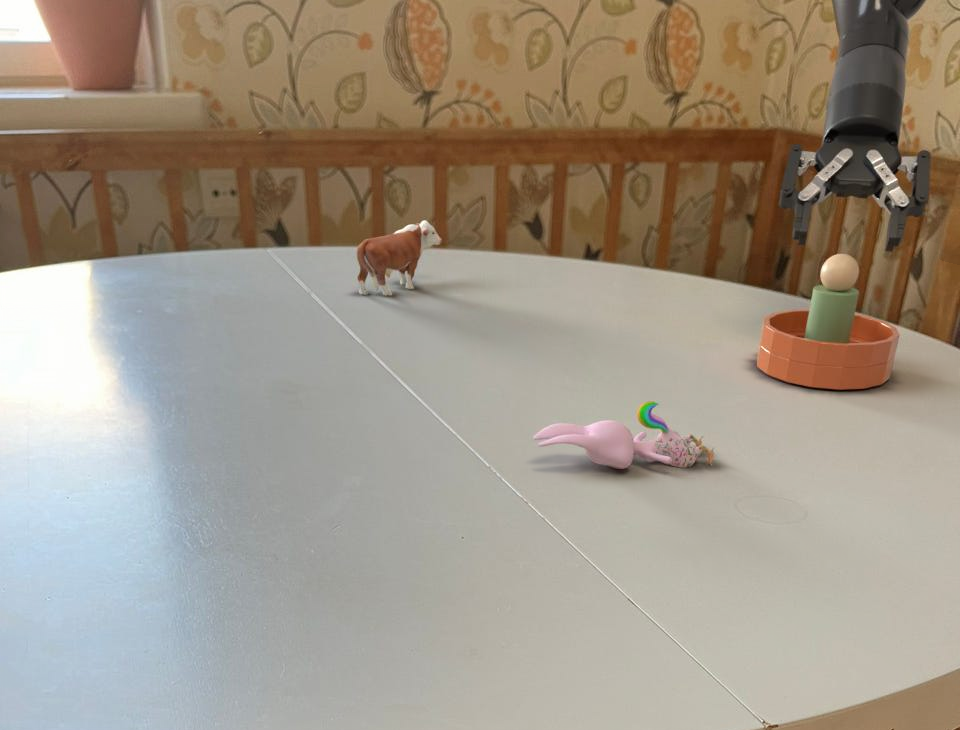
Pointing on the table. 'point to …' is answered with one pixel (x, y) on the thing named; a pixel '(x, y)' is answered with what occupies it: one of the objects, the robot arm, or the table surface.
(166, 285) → the table surface
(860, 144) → the robot arm
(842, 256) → the doll
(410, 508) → the table surface
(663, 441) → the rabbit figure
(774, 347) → the bowl
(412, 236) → the bull figurine
